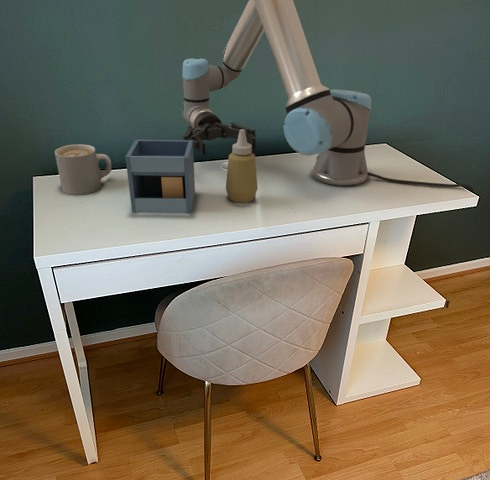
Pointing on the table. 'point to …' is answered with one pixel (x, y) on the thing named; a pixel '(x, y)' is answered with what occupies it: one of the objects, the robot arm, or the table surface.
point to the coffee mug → (80, 168)
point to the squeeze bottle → (241, 171)
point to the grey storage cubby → (159, 174)
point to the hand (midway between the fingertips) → (229, 146)
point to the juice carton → (173, 186)
